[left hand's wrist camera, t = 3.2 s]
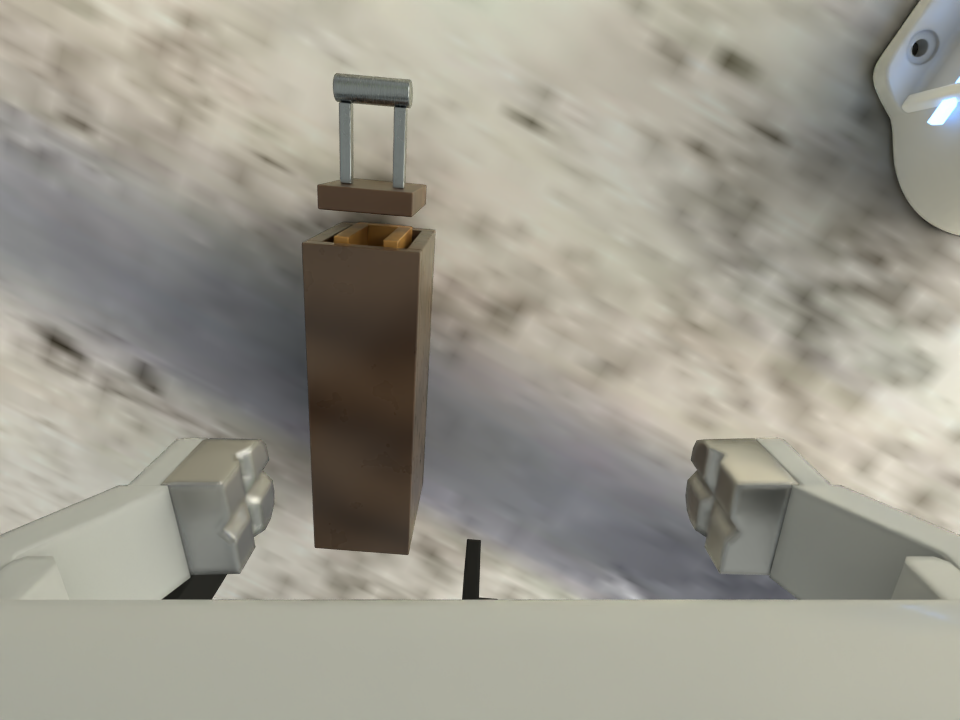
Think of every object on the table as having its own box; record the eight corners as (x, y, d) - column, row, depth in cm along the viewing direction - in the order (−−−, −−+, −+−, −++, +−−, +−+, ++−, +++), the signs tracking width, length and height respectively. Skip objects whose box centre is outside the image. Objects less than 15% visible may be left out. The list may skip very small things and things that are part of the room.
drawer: (346, 81, 31) (313, 66, 25) (430, 89, 31) (416, 75, 25) (350, 439, 40) (326, 489, 34) (415, 444, 40) (403, 495, 34)
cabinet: (342, 221, 35) (301, 242, 27) (435, 229, 35) (420, 252, 27) (345, 476, 42) (314, 548, 34) (422, 482, 42) (408, 555, 34)
